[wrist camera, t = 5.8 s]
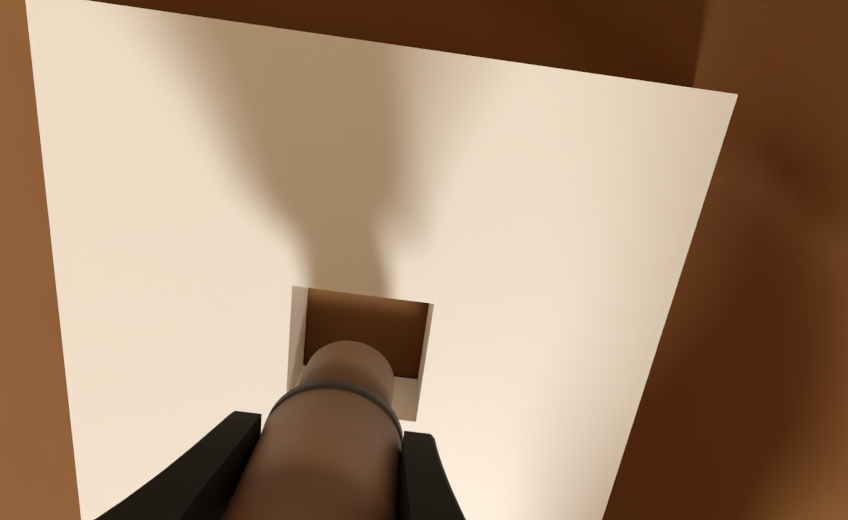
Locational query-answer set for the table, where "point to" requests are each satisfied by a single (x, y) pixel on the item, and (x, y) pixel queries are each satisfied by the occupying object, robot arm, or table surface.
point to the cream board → (359, 239)
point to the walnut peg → (327, 444)
